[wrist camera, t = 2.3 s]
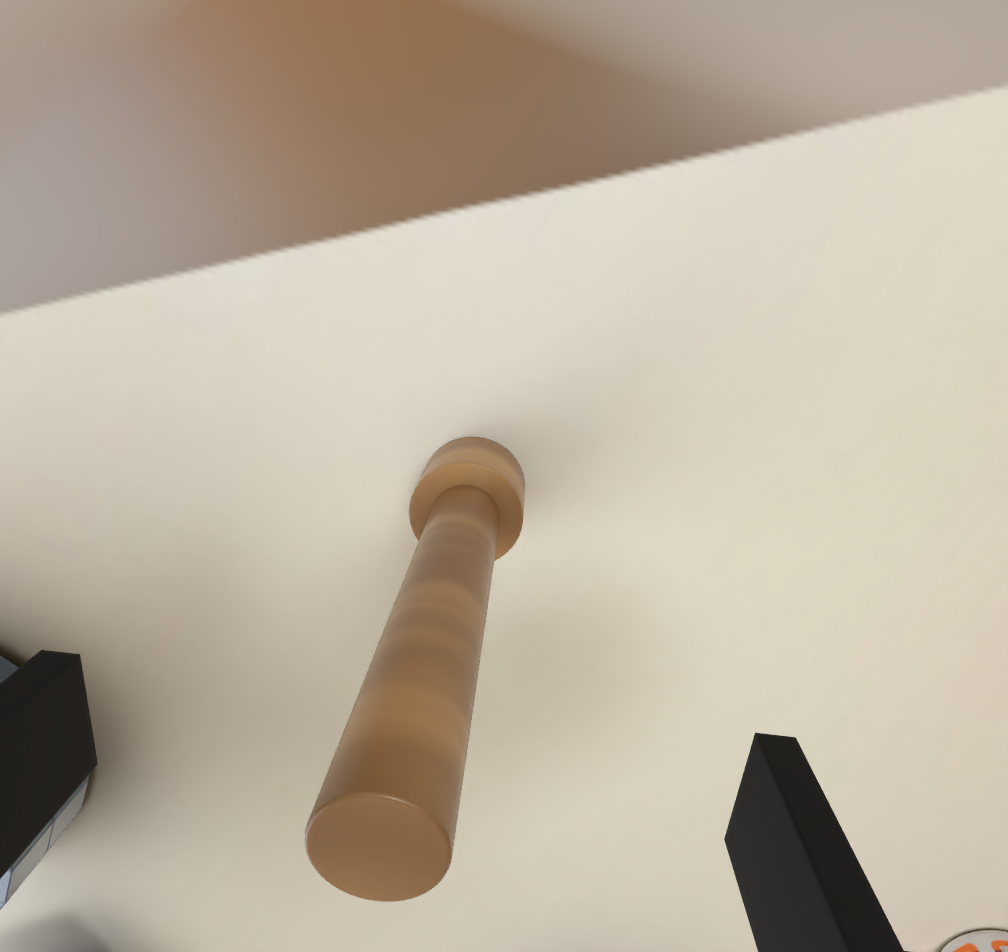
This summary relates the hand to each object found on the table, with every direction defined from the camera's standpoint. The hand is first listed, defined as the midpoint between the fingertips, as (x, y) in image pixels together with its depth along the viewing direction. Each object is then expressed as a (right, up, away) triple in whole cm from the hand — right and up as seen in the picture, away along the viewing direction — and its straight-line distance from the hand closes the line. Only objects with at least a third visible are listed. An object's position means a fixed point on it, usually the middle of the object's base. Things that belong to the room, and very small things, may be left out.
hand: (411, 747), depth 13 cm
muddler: (+1, +5, +13) cm, 14 cm away
